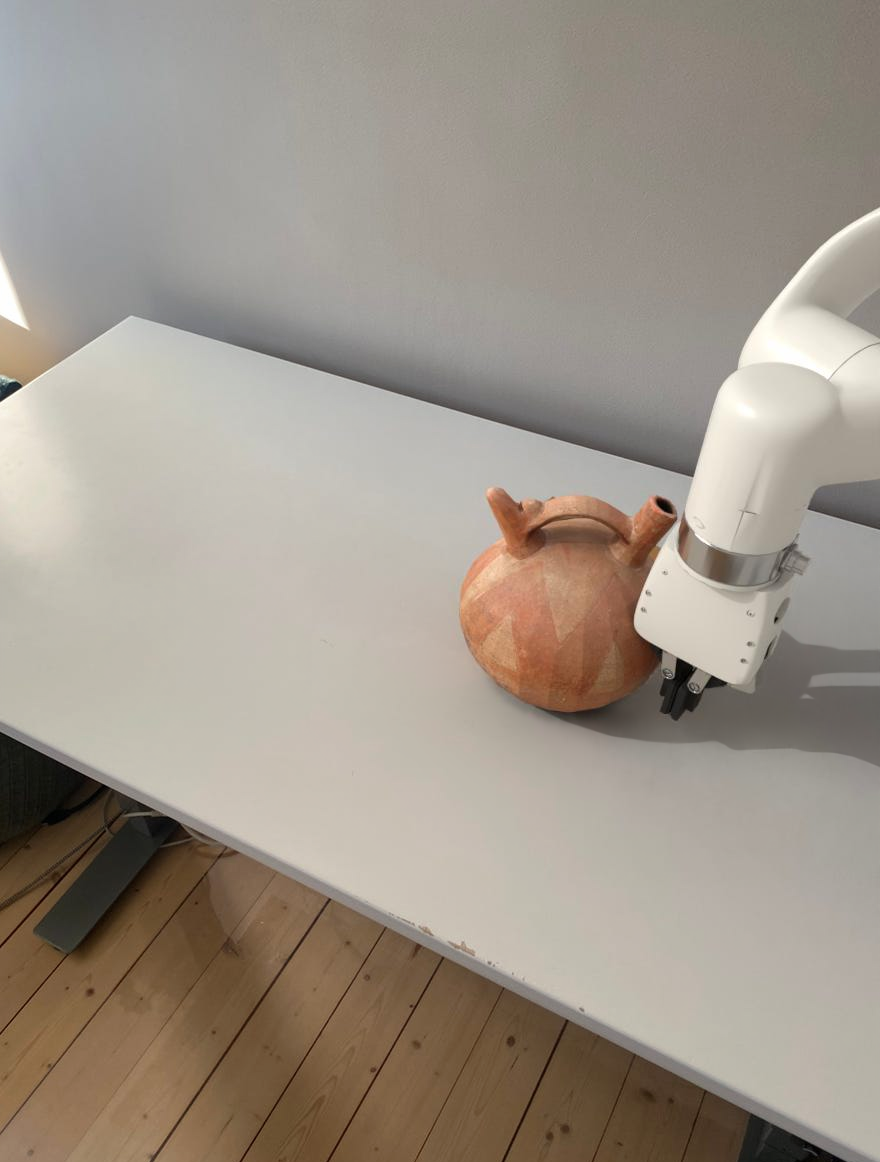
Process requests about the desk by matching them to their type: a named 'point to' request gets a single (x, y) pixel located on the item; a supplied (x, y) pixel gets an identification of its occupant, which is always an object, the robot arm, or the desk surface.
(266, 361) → the desk surface
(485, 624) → the jug
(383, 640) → the desk surface
